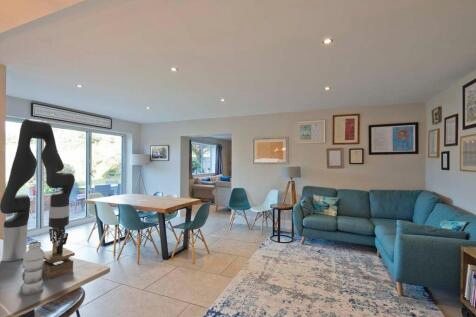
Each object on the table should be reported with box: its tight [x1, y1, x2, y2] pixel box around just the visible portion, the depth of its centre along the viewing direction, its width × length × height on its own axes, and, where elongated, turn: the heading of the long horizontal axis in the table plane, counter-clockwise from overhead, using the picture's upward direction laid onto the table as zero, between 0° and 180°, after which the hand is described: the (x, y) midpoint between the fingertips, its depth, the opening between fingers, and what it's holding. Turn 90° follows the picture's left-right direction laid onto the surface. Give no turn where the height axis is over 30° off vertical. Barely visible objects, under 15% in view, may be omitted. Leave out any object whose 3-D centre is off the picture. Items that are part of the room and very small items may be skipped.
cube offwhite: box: [52, 260, 64, 266], centre depth 112 cm, size 4×4×4 cm
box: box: [42, 257, 74, 280], centre depth 110 cm, size 10×9×6 cm
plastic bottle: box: [21, 241, 45, 296], centre depth 94 cm, size 6×7×20 cm
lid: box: [43, 242, 76, 263], centre depth 110 cm, size 11×10×7 cm
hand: (57, 252), depth 110 cm, fingers closed on lid, 3 cm apart
